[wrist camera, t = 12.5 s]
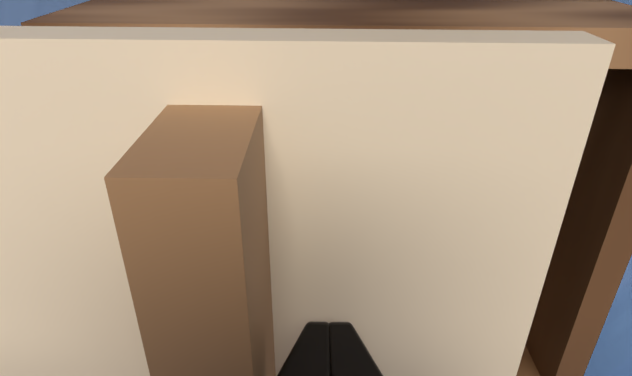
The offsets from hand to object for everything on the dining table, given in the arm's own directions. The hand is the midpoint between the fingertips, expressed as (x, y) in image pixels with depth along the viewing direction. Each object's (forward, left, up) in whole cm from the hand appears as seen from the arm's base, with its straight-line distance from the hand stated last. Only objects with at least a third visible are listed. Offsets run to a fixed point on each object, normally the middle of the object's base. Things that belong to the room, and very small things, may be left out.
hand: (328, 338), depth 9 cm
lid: (+2, 0, -2) cm, 3 cm away
